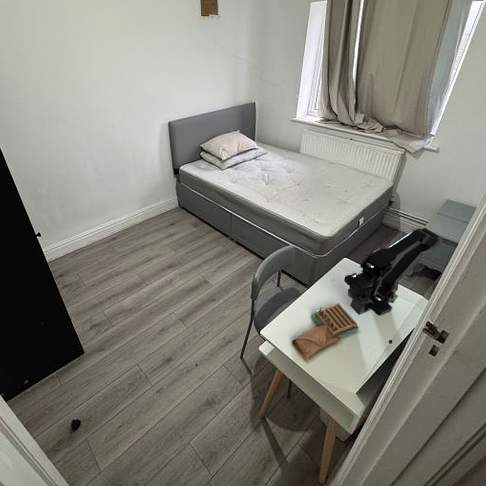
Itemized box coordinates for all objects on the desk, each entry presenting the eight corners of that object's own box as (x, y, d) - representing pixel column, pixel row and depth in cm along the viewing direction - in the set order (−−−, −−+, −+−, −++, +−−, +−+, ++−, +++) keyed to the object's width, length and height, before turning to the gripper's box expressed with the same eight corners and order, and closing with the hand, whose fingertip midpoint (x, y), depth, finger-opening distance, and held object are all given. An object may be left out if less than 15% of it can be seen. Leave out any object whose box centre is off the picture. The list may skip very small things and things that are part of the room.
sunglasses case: (307, 362, 104) (303, 345, 103) (294, 353, 110) (290, 337, 110) (342, 340, 111) (339, 324, 110) (328, 332, 117) (325, 317, 116)
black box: (361, 301, 120) (365, 292, 117) (370, 310, 117) (374, 301, 113) (349, 305, 119) (353, 296, 116) (358, 315, 115) (362, 306, 112)
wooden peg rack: (336, 307, 123) (341, 295, 119) (357, 331, 114) (363, 319, 110) (311, 316, 120) (314, 304, 115) (330, 342, 111) (335, 330, 106)
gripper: (337, 269, 113) (329, 294, 122) (375, 306, 99) (362, 332, 108) (360, 261, 116) (350, 287, 125) (399, 296, 102) (385, 322, 111)
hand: (360, 306), depth 117 cm, fingers closed on black box, 5 cm apart
